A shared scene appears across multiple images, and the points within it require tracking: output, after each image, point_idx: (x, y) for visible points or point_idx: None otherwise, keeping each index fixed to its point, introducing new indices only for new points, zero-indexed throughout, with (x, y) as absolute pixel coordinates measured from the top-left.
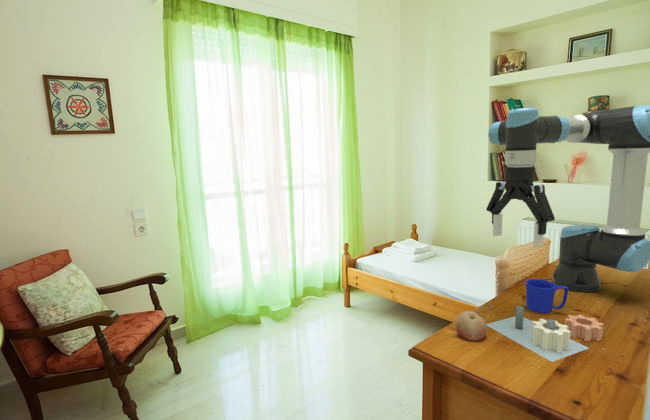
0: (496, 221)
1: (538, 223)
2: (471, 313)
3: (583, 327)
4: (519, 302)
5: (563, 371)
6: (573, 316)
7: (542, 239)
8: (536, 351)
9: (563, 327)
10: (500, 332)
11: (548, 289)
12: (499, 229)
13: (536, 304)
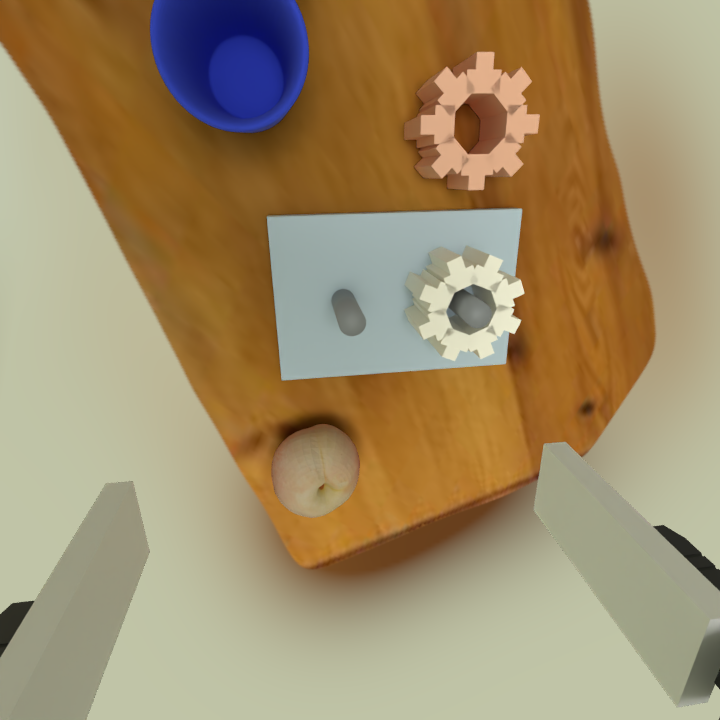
0: (86, 688)
1: (705, 674)
2: (313, 490)
3: (498, 169)
4: (126, 61)
5: (521, 346)
6: (436, 118)
7: (594, 478)
8: (458, 360)
9: (496, 279)
10: (340, 372)
11: (304, 78)
12: (115, 552)
13: (271, 126)
